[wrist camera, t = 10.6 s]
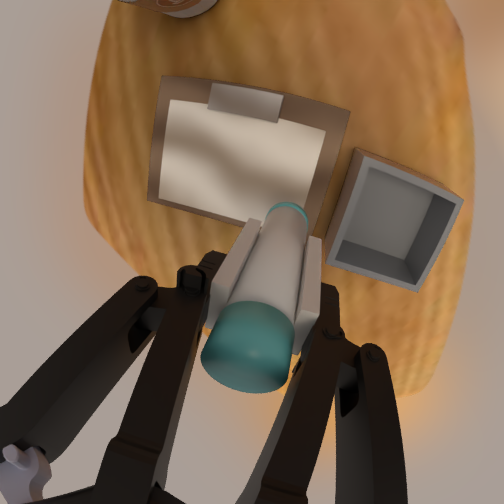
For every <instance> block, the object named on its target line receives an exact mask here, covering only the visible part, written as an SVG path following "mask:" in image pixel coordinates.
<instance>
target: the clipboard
mask: <svg viewBox="0 0 504 504" xmlns="http://www.w3.org/2000/svg"><path fill="white" fill-rule="evenodd" d="M349 115H350V111H348V110H345V109H342V108H338V107H335V106H332V105H329V104H325V103H322V102H319V101H315V100H312V99H308V98H304V97H300V96H296V95H292V94H288V93H284V92H280V91H275V90H270V89H265V88H260V87H255V86H250V85H244V84H238V83H232V82H225V81H218V80H209V79H200V78H190V77H178V76H162V77H161V83H160V89H159V94H158V101H157V107H156V114H155V121H154V129H153V137H152V146H151V155H150V166H149V178H148V193H147V201H151V202H155V203H158V204H162V205H166V206H169V207H173V208H177V209H180V210H184V211H187V212H191V213H194V214H198V215H202V216H205V217H209V218H212V219H216V220H219V221H223V222H226V223H230V224H233V225H237V226H240V227H243V228H244V226H245V224H246V223H247V221H248V219H249V218H253V219H256V220H260V221H262V223H261V227H260V230H261V228H262V226H263V224H264V221H265V218H266V215H267V213H268V211H269V210H270V208H271V207H272V206H274V205H275V204H277V203H280V202H293V203H295V204H297V205H299V206H300V207H302V208H303V210H304V211H305V212H306V214H307V217H308V231H307V234H306V242H305V246H306V244H307V241H308V238H309V235H310V236H312V234H313V231H314V228H315V225H316V222H317V219H318V216H319V213H320V210H321V207H322V204H323V201H324V198H325V195H326V192H327V189H328V185H329V182H330V179H331V176H332V173H333V169H334V166H335V163H336V160H337V156H338V153H339V150H340V146H341V143H342V139H343V136H344V133H345V129H346V125H347V122H348V118H349ZM259 232H260V231H259Z"/></svg>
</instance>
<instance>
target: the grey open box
mask: <svg viewBox="0 0 504 504" xmlns="http://www.w3.org/2000/svg"><path fill="white" fill-rule="evenodd" d="M463 202H464V200H463V199H462V198H461V197H459V196H458V195H457V194H455V193H454V192H453V191H451V190H450V189H449V188H447V187H446V186H445V185H443V184H442V183H440V182H438V181H436V180H434V179H432V178H429V177H427V176H425V175H423V174H421V173H419V172H416V171H414V170H412V169H410V168H407V167H405V166H403V165H400V164H398V163H396V162H393V161H391V160H388V159H386V158H383V157H381V156H378V155H375V154H373V153H370V152H367V151H365V150H362V149H359V148H356V147H355V150H354V153H353V156H352V159H351V162H350V166H349V169H348V172H347V175H346V178H345V181H344V184H343V187H342V190H341V193H340V196H339V199H338V202H337V205H336V208H335V211H334V213H333V216H332V219H331V222H330V225H329V227H328V230H327V233H326V236H325V264H328V265H331V266H334V267H338V268H341V269H344V270H347V271H351V272H354V273H357V274H360V275H363V276H367V277H370V278H373V279H376V280H380V281H383V282H386V283H389V284H392V285H395V286H399V287H402V288H405V289H408V290H411V291H415V292H418V291H419V289H420V288H421V286H422V284H423V283H424V281H425V279H426V277H427V276H428V274H429V272H430V270H431V268H432V267H433V265H434V263H435V261H436V259H437V257H438V255H439V253H440V252H441V250H442V248H443V246H444V244H445V242H446V240H447V238H448V235H449V233H450V231H451V229H452V227H453V225H454V223H455V220H456V218H457V216H458V213H459V211H460V209H461V206H462V204H463Z"/></svg>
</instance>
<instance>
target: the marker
mask: <svg viewBox="0 0 504 504" xmlns="http://www.w3.org/2000/svg"><path fill="white" fill-rule="evenodd" d="M307 231H308V217H307V214H306V212H305V211H304V210H303V208H302V207H300V206H299V205H297V204H295V203H293V202H280V203H277V204H275V205H274V206H272V207H271V208H270V210H269V211H268V213H267V215H266V218H265V221H264V224H263V226H262V228H261V230H260V232H259V235H258V237H257V239H256V242H255V244H254V246H253V248H252V250H251V252H250V255H249V257H248V259H247V261H246V263H245V266H244V268H243V270H242V272H241V274H240V277H239V279H238V281H237V283H236V285H235V287H234V290H233V292H232V294H231V296H230V298H229V301H228V303H227V305H226V307H225V308H224V309H223V310H222V311H221V312H220V314H219V316H218V318H217V320H216V322H215V324H214V326H213V329H212V331H211V333H210V335H209V337H208V339H207V342H206V344H205V346H204V348H203V350H202V352H201V363H202V366H203V367H204V369H205V370H206V372H207V373H208V374H209V375H210V376H211V377H212V378H213V379H215V380H216V381H218V382H219V383H221V384H223V385H225V386H227V387H229V388H232V389H234V390H238V391H241V392H246V393H267V392H272V391H275V390H277V389H279V388H280V387H282V386H283V385H284V384H285V383H286V381H287V379H288V373H289V368H290V362H291V356H292V350H293V344H294V338H295V331H294V321H295V315H296V308H297V302H298V295H299V288H300V281H301V273H302V266H303V258H304V250H305V242H306V234H307Z"/></svg>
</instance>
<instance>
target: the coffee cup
mask: <svg viewBox="0 0 504 504" xmlns="http://www.w3.org/2000/svg"><path fill="white" fill-rule="evenodd" d="M118 1H121V2H125V3H128V4H132V5H136V6H140V7H143V8H147V9H150V10H153V11H156V12H162V13H165V14H168V15H170V16H173V17H178V18H186V17H192V16H195V15H198V14H201V13H203V12H205V11H207V10H208V9H209V8H211V7H212V6H213V5H214V4H215V3H216V2H217V0H118Z"/></svg>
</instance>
